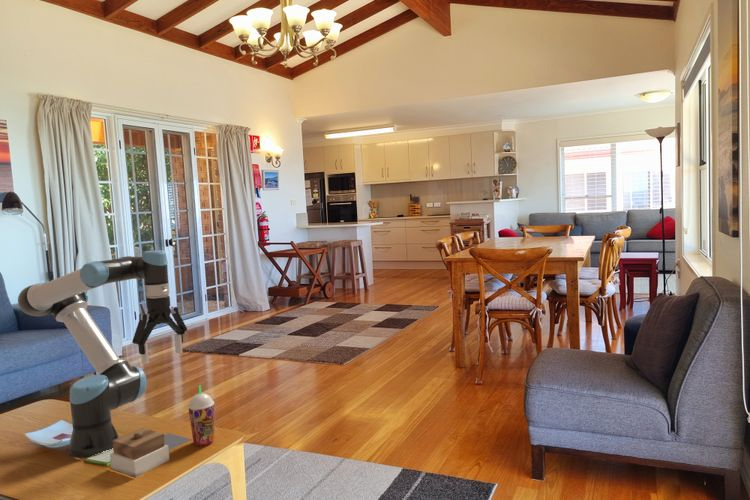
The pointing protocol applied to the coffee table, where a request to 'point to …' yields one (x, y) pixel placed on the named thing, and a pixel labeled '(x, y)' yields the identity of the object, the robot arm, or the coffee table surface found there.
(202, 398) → the smoothie
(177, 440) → the mat
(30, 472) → the coffee table surface
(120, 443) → the lid
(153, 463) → the dish
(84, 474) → the coffee table surface
